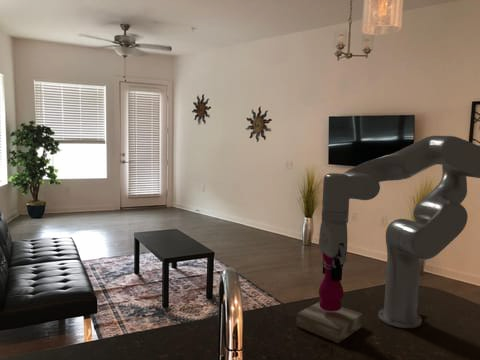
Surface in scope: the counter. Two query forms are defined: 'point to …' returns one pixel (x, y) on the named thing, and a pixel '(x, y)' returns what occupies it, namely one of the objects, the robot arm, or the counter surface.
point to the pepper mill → (330, 288)
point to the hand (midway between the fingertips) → (331, 276)
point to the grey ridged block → (329, 322)
